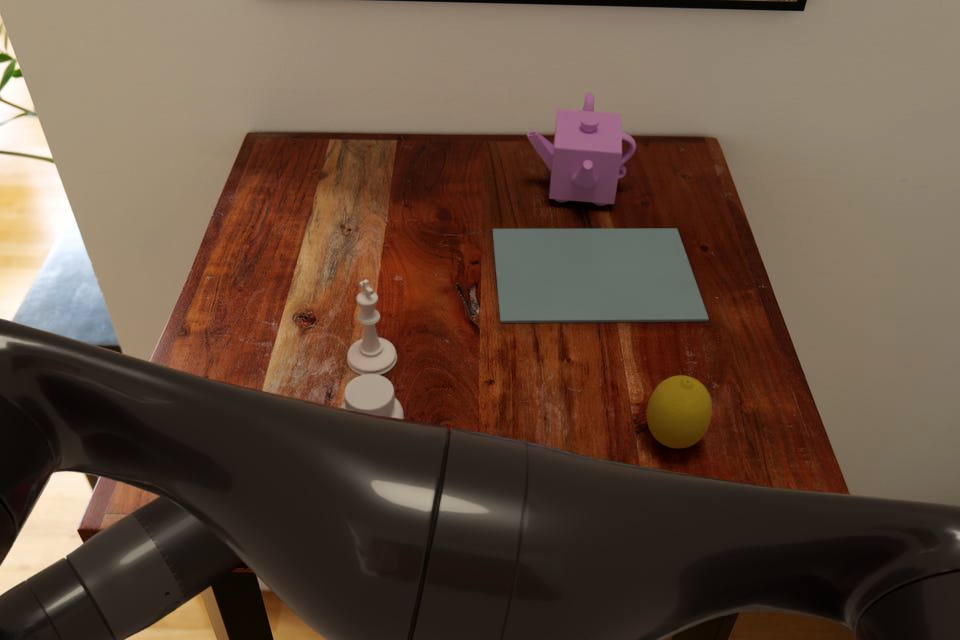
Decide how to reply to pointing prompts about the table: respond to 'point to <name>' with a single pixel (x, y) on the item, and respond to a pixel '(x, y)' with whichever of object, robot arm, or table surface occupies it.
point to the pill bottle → (372, 396)
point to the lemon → (679, 411)
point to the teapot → (585, 154)
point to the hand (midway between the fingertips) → (339, 443)
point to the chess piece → (370, 339)
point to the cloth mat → (595, 276)
